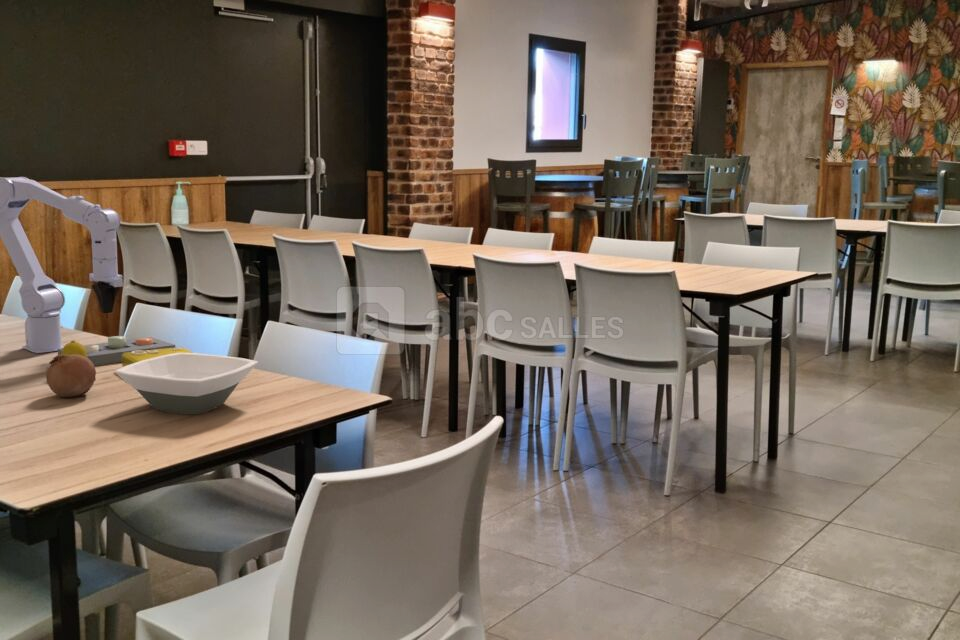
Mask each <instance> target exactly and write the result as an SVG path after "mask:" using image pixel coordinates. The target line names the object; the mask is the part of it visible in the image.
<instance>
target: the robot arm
mask: <svg viewBox="0 0 960 640" xmlns="http://www.w3.org/2000/svg"><path fill="white" fill-rule="evenodd" d="M84 199H85V197H84V196H81V195H72V196H70V197H66V196H64V195H63V194H61V193H59V192H58V191H54V190H52V189H51V188H49V187H47V186H45V185H43V184H41V183H39V182H38V181H36V180H34V179H29V178H28V177H26V176H18V177H16V176H15V177H1V176H0V238H1V241H2V242H3V245H4V246H5V249H6V251H7V253H8V255H9V257H10V259H11V261H12V263H13V266H14V268H15V270H16V272H17V274H18V276H19V278H20V280H21V285H20V288H19V290H18V292H19V295H20V298H21V307H22V309H23V310H24V312H25V313H26V314H27V315H26V316H27V318H26V319H25V322H24V334H25V335H24V336H25V345H22V346H21V347H22V349H25V350H27V351H30V352H32V353H34V354H42V353H51V352H58V349H59V348H63V347H64V346H65V345H62V328H61V312H62V308H63V307H64V306H65V303H66V297H65V293H64V292H63V291H62V290H61V289H60V288H59V287H58V286H57V285H56V283H55V281H54V280H53V279H52V278H50V277H49V276H47V275H46V274H45V273H44V270H43V268H42V266H41V264H40V262H39V260H38V257H37V256H36V254H35V251H34V249H33V247H32V245H31V243H30V240H29V239H28V236H27V234H26V232H25V230H24V228H23V225H22V223H21V221H20V220H19V216H20V214H21V211H22V210H23V209H24V208H25V207H26V206H27V204H29V202H30V201H31V200H35V201H37V202H40V203H43V204H46V205H48V206H51V207H52V208H56V209H58V210H61V213H62V214H63V217H65V218H66V219H69V220H70V221H73V222H75V223H77V224H80V225H82V226H85V227H86V228H87V230H88V231H89V234H90V239H91V253H92V256H91V257H92V272H90V273H88V274H89V276H88V277H89V281H90V282H97V284H92V285H91V288H92V290H93V291H94V293H95V295H96V298H97V300H98V301H97V302H98V304H99V307H100V310H101V313H102V314H110V313H113V311H114V307H115V301H116V298H117V295H118V293H119V291H120V289H121V288H122V287H124V283H123V281H124V279H123V274H119V272H118V271H119V270H118V269H119V267H118V245H117V243H118V242H117V230H119V227H120V226H121V217H120V215H119V214H118V213H117V211H115V210H114V209H112V208H109V207H108V208H104V209H103V208H102V206H101V205H100V204H96V203H95V204H93V203H92V202H90V201H86V200H84Z"/></svg>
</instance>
